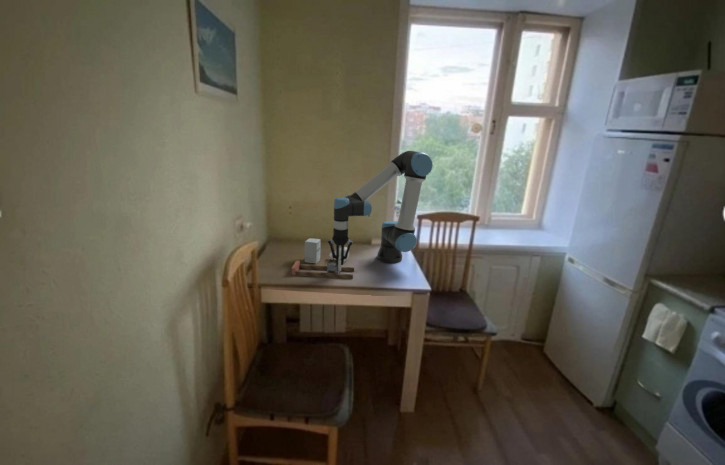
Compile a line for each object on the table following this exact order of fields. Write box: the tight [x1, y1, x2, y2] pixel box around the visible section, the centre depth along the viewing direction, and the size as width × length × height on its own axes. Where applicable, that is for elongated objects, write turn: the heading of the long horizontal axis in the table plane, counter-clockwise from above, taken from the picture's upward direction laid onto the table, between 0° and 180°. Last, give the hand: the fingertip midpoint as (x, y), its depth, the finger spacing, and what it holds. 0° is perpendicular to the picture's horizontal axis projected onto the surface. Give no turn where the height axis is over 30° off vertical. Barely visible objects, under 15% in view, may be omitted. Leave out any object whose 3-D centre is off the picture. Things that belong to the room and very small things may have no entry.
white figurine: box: [328, 246, 350, 263], centre depth 198 cm, size 6×8×12 cm
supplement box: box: [304, 238, 321, 265], centre depth 195 cm, size 7×7×13 cm
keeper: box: [326, 262, 339, 273], centre depth 181 cm, size 6×6×5 cm
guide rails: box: [294, 263, 355, 280], centre depth 181 cm, size 30×10×2 cm, turn 87°
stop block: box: [291, 260, 301, 276], centre depth 181 cm, size 2×10×4 cm, turn 177°
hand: (339, 270), depth 180 cm, fingers closed
